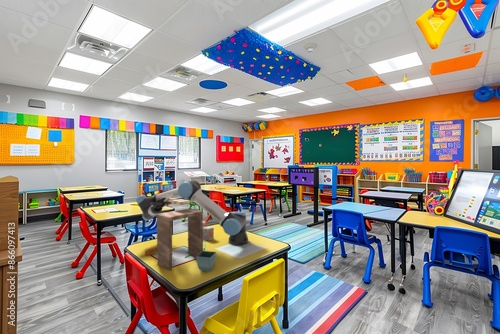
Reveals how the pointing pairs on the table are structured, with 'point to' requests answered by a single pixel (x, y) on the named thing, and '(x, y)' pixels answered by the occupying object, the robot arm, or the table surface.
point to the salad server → (177, 201)
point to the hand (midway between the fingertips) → (170, 195)
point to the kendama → (150, 251)
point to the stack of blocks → (207, 232)
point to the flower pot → (206, 260)
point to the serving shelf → (166, 234)
